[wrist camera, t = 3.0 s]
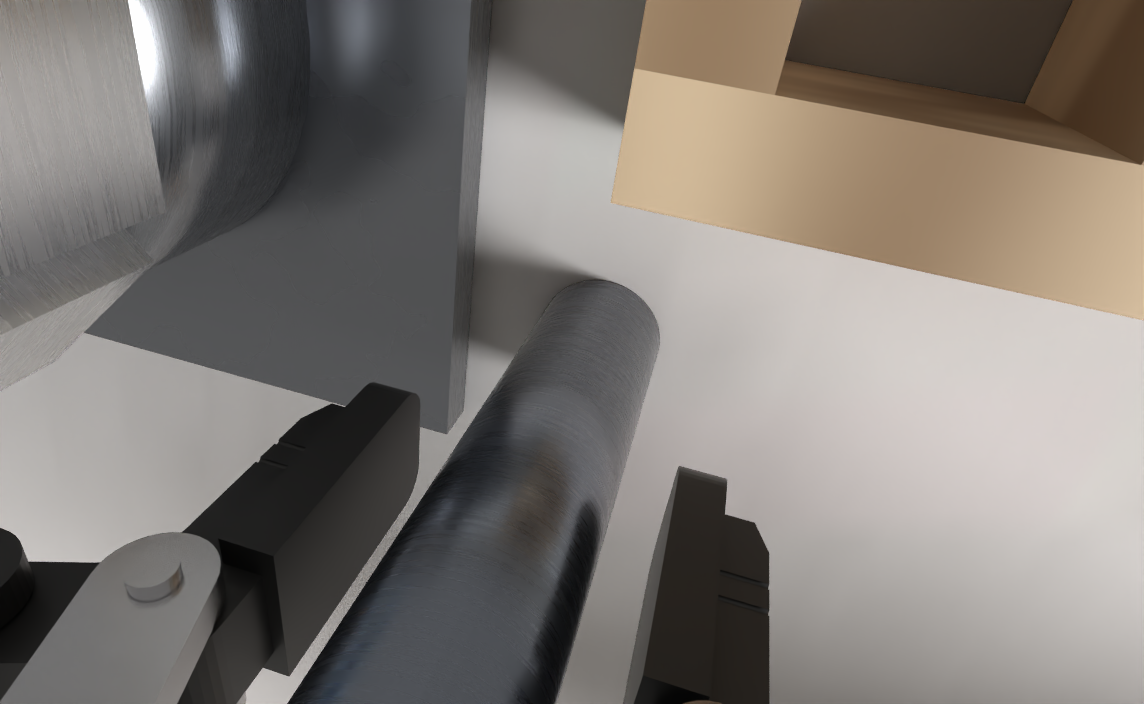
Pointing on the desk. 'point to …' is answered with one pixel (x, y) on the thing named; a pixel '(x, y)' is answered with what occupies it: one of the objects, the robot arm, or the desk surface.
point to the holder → (899, 152)
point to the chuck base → (313, 193)
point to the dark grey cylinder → (505, 525)
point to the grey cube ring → (69, 173)
